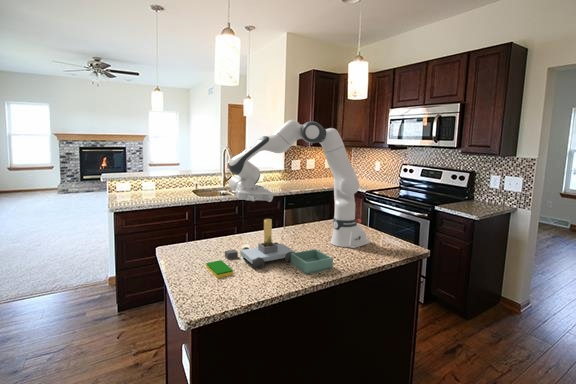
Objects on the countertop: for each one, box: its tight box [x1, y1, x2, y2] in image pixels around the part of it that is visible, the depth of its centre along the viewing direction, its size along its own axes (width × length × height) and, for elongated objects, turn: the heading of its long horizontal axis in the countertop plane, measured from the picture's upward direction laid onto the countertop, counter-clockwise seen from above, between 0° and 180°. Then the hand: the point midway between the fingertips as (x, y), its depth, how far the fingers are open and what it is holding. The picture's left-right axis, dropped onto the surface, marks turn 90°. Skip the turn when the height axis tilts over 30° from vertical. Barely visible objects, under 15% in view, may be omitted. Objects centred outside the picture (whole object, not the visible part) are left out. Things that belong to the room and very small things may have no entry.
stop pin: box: [263, 218, 273, 247], centre depth 151 cm, size 4×4×15 cm
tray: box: [290, 248, 334, 276], centre depth 145 cm, size 14×14×5 cm
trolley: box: [239, 241, 296, 270], centre depth 152 cm, size 22×16×8 cm
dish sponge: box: [205, 259, 234, 279], centre depth 140 cm, size 7×14×2 cm, turn 33°
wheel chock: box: [224, 249, 239, 260], centre depth 156 cm, size 5×4×3 cm
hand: (262, 199), depth 157 cm, fingers open, 8 cm apart
